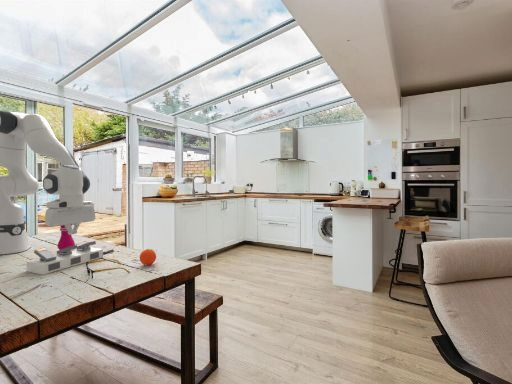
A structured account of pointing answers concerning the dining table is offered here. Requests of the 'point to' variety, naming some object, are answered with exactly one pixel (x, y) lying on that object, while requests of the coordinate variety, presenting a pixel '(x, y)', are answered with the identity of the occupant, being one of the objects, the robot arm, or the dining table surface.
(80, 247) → the rocker
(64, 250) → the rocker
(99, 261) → the eyeglasses
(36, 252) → the block
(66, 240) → the pepper mill
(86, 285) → the dining table surface
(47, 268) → the power strip
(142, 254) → the clementine
